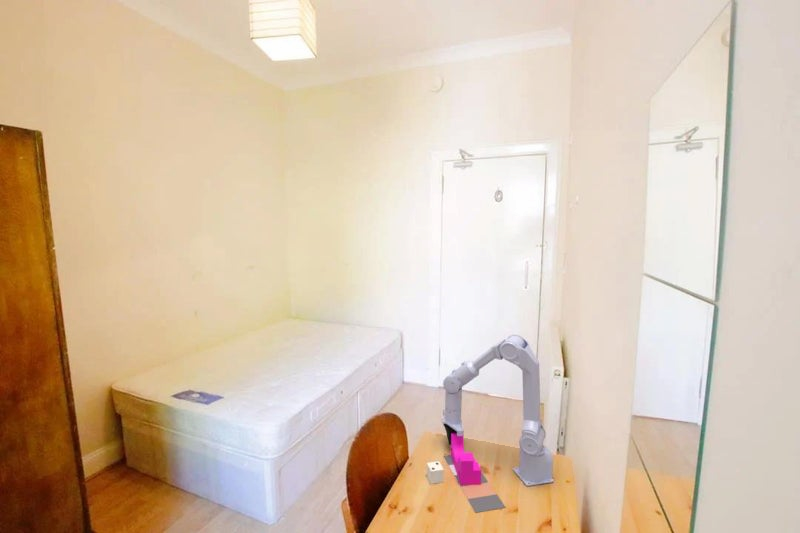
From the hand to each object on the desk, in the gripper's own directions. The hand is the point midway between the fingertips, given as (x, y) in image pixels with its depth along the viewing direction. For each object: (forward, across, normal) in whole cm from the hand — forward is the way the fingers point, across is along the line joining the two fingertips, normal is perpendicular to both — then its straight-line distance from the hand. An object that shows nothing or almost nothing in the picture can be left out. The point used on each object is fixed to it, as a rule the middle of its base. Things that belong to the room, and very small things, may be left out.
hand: (452, 444), depth 122 cm
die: (+1, +14, -11) cm, 18 cm away
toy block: (+2, +11, 0) cm, 11 cm away
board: (+1, +16, 0) cm, 16 cm away
